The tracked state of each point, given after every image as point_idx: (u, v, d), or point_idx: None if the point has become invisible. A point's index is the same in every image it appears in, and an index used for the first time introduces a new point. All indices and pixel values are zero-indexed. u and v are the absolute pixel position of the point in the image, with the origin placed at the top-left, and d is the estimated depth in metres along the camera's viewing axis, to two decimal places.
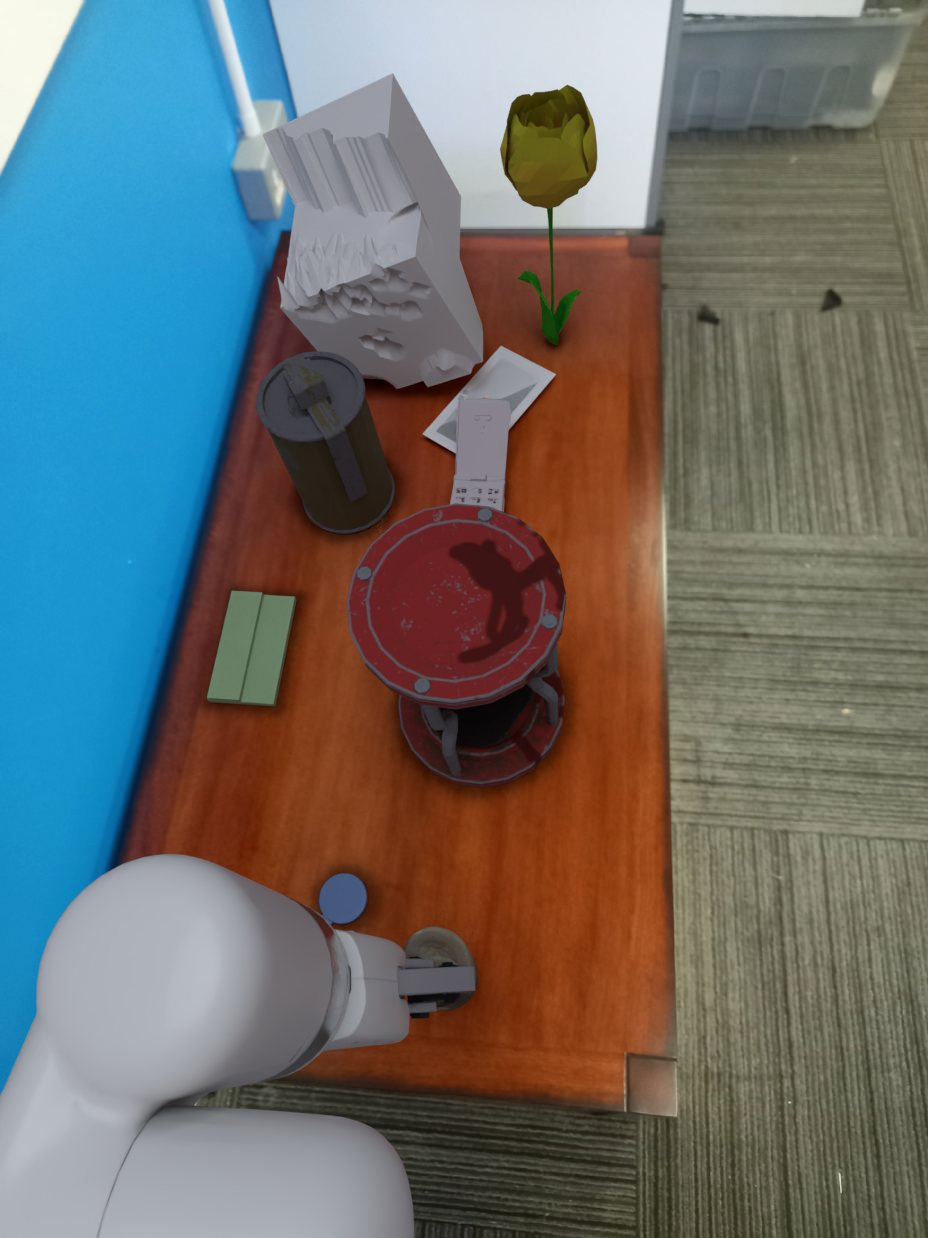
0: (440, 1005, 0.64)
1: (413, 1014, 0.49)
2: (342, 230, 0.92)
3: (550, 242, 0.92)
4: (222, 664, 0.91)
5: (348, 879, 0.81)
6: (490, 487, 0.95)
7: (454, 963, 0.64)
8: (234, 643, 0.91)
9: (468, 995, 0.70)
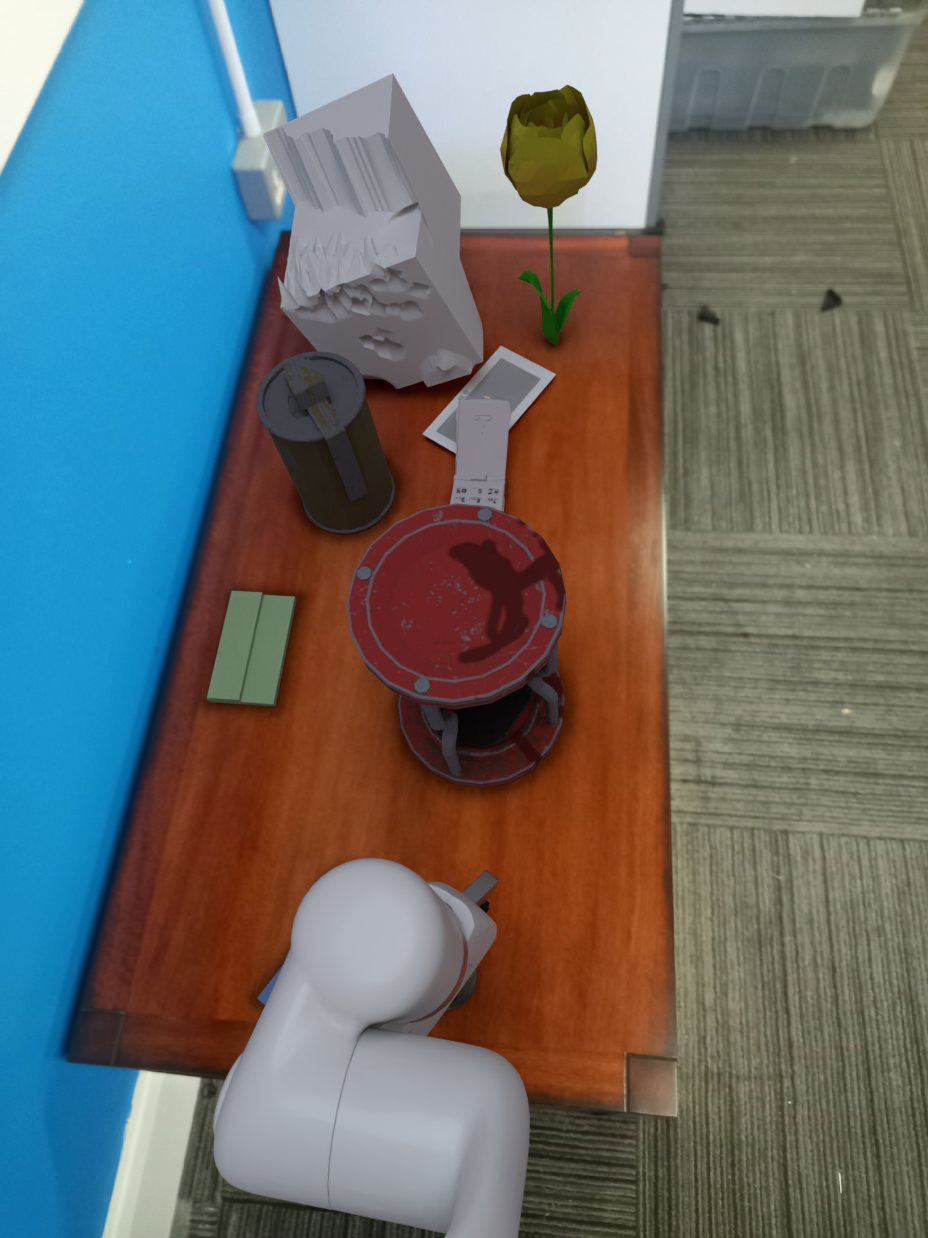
0: None
1: None
2: (342, 230, 0.92)
3: (550, 242, 0.92)
4: (222, 664, 0.91)
5: None
6: (490, 487, 0.95)
7: None
8: (234, 643, 0.91)
9: (468, 995, 0.70)
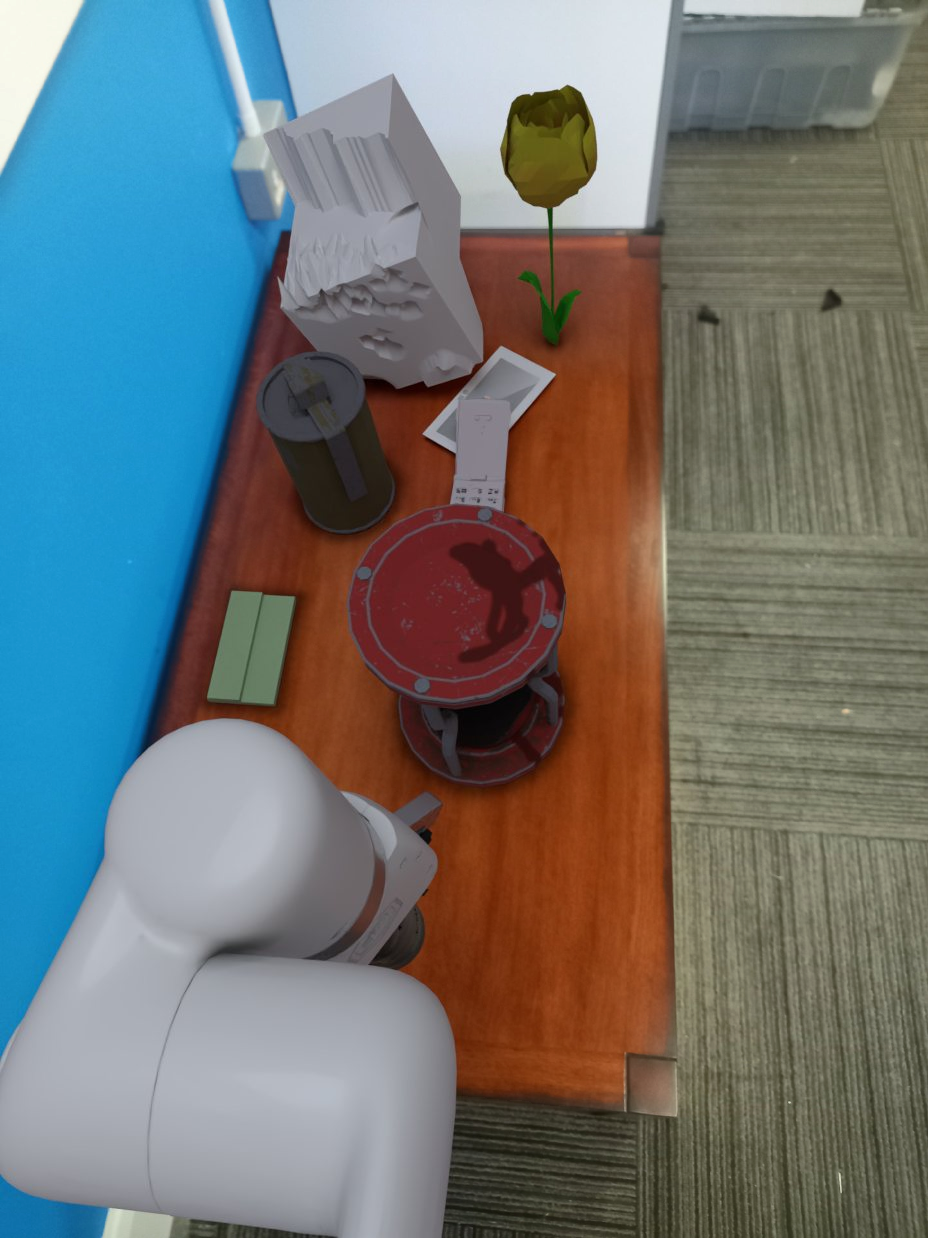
0: None
1: None
2: (342, 230, 0.92)
3: (550, 242, 0.92)
4: (222, 664, 0.91)
5: None
6: (490, 487, 0.95)
7: None
8: (234, 643, 0.91)
9: (410, 952, 0.58)
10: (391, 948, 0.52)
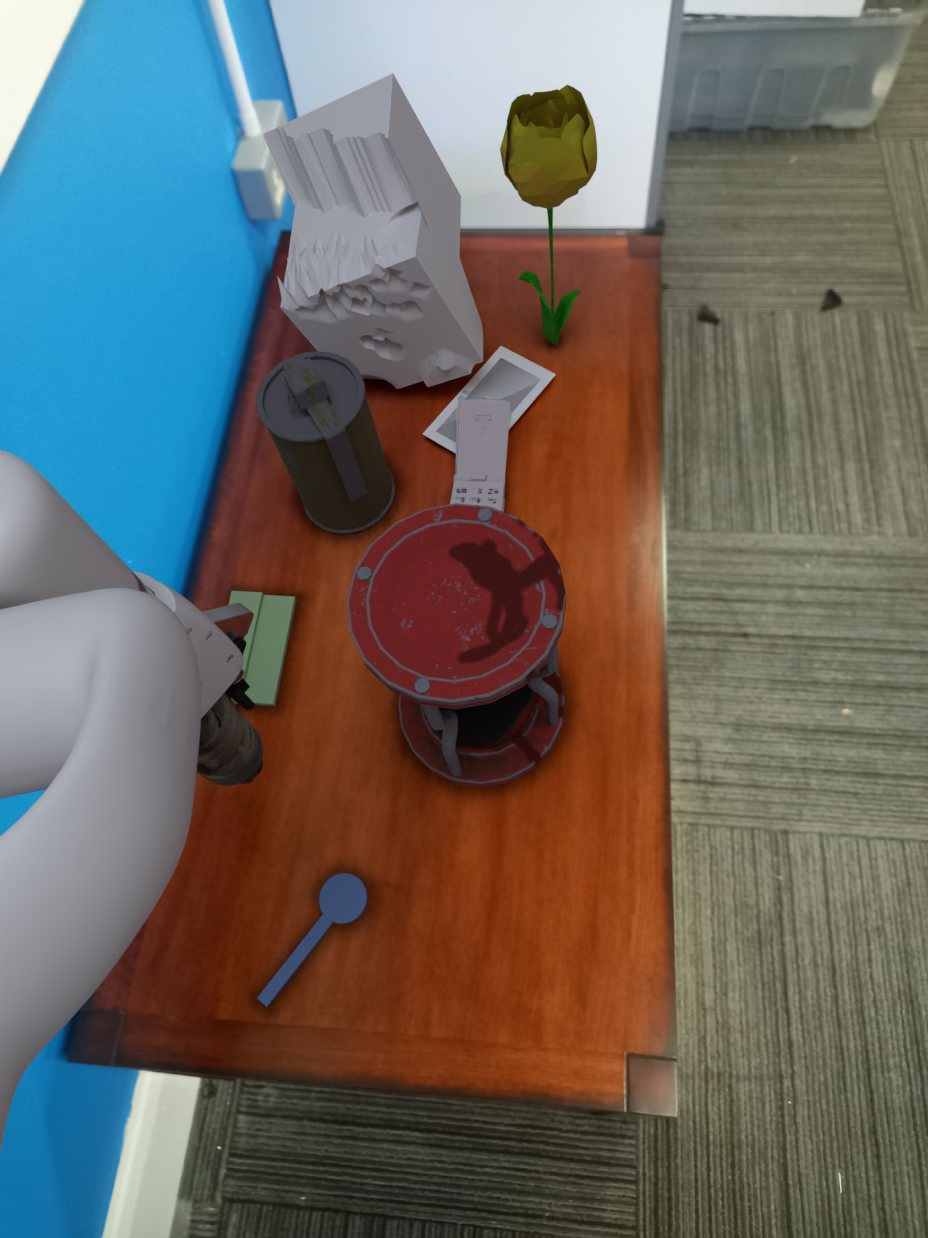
0: None
1: (233, 689, 0.60)
2: (342, 230, 0.92)
3: (550, 242, 0.92)
4: None
5: (348, 879, 0.81)
6: (490, 487, 0.95)
7: None
8: None
9: (243, 763, 0.65)
10: (212, 743, 0.60)
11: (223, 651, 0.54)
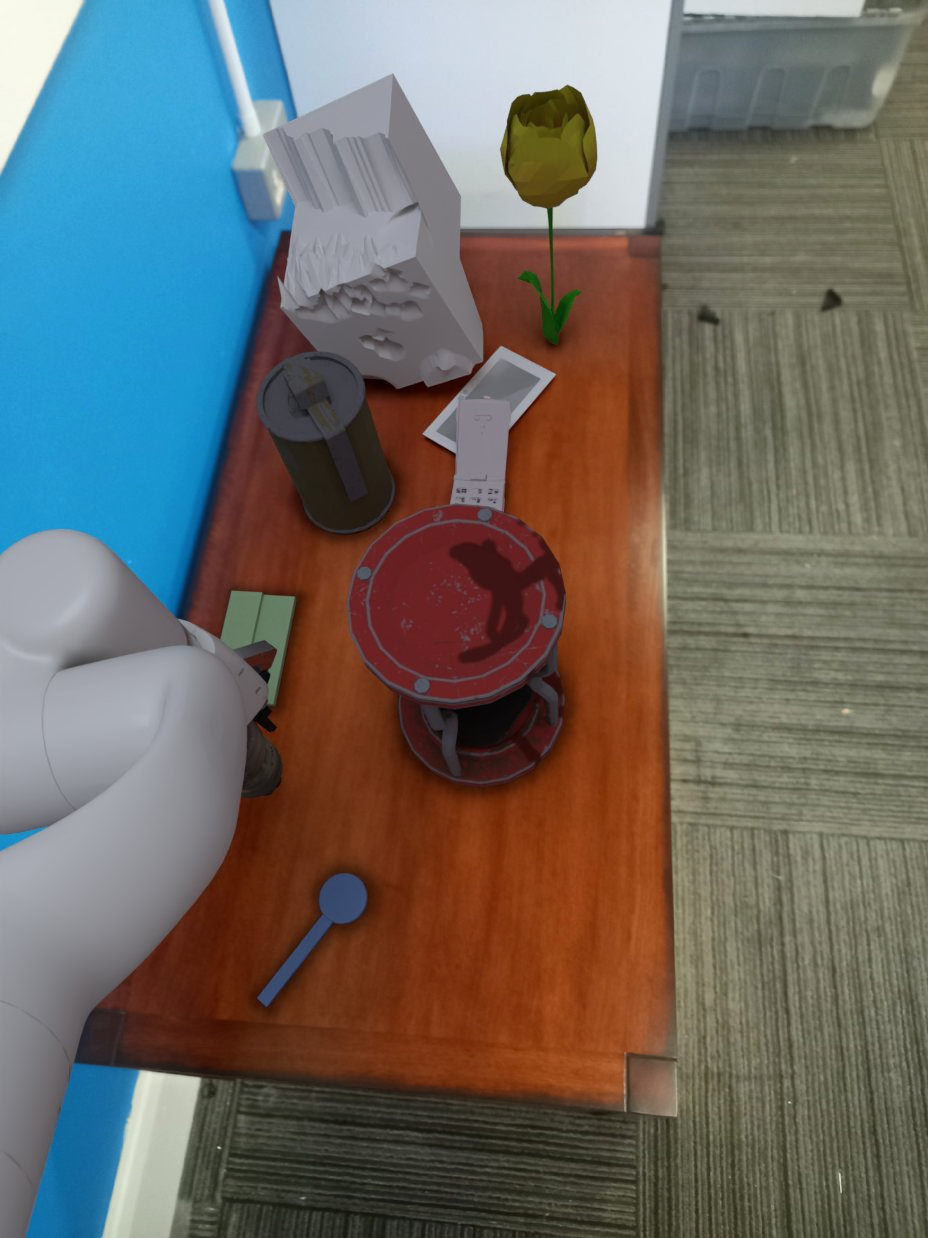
0: None
1: (258, 715, 0.69)
2: (342, 230, 0.92)
3: (550, 242, 0.92)
4: None
5: (348, 879, 0.81)
6: (490, 487, 0.95)
7: None
8: (234, 643, 0.91)
9: (266, 779, 0.74)
10: None
11: (252, 684, 0.63)
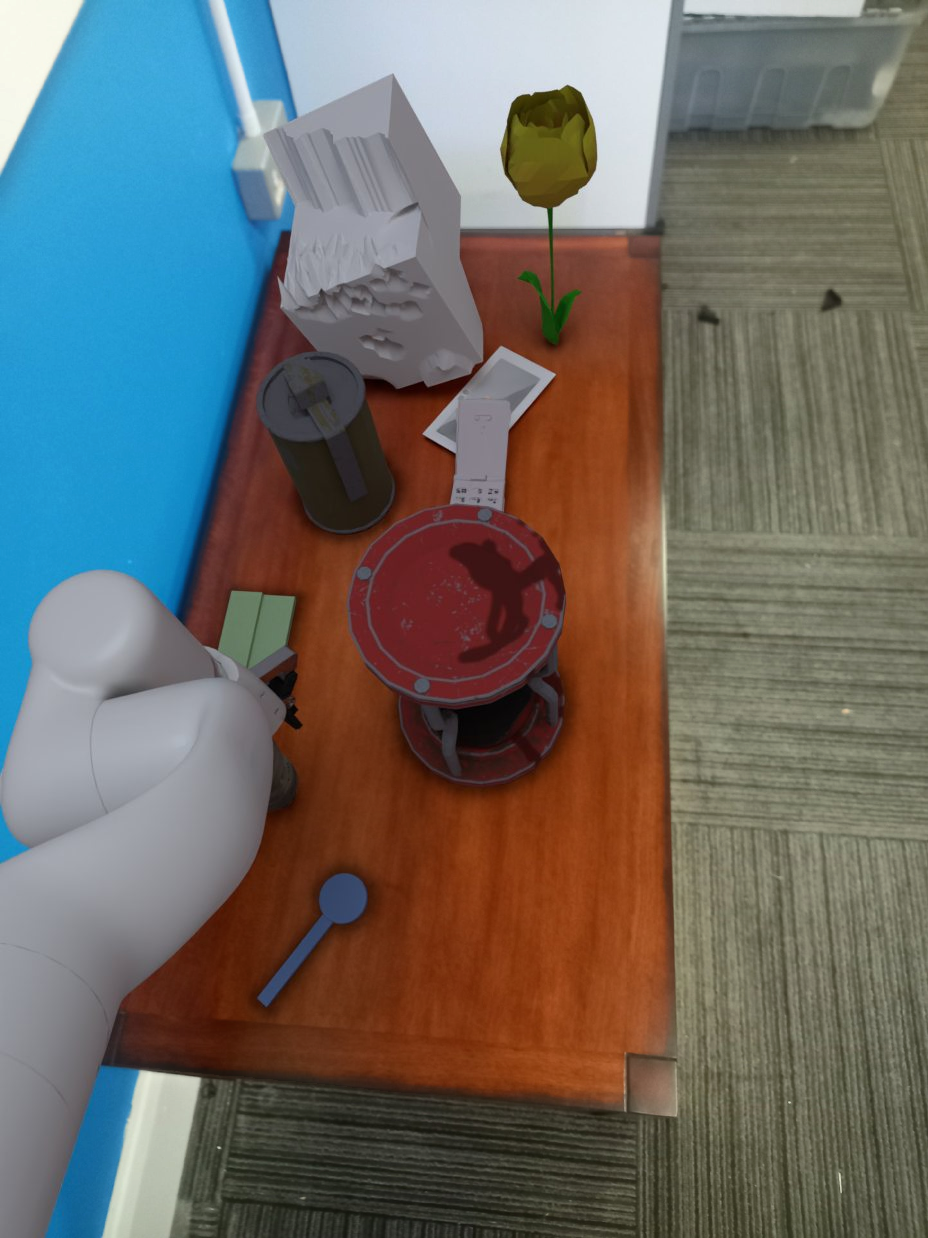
0: None
1: (286, 713, 0.73)
2: (342, 230, 0.92)
3: (550, 242, 0.92)
4: None
5: (348, 879, 0.81)
6: (490, 487, 0.95)
7: None
8: (234, 643, 0.91)
9: (283, 793, 0.78)
10: None
11: (272, 706, 0.67)
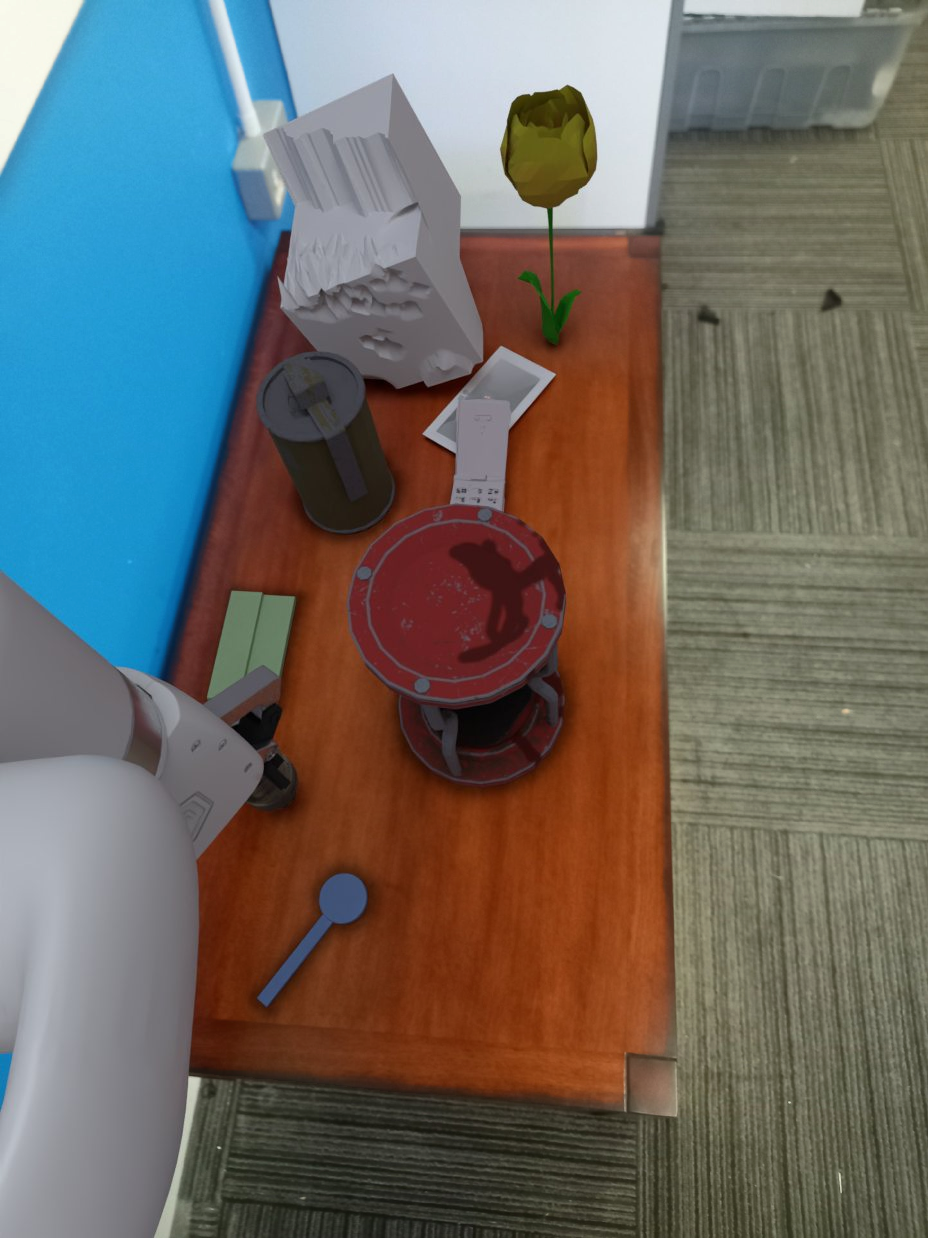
0: None
1: (265, 768, 0.48)
2: (342, 230, 0.92)
3: (550, 242, 0.92)
4: (222, 664, 0.91)
5: (348, 879, 0.81)
6: (490, 487, 0.95)
7: None
8: (234, 643, 0.91)
9: (283, 793, 0.78)
10: None
11: (240, 761, 0.43)
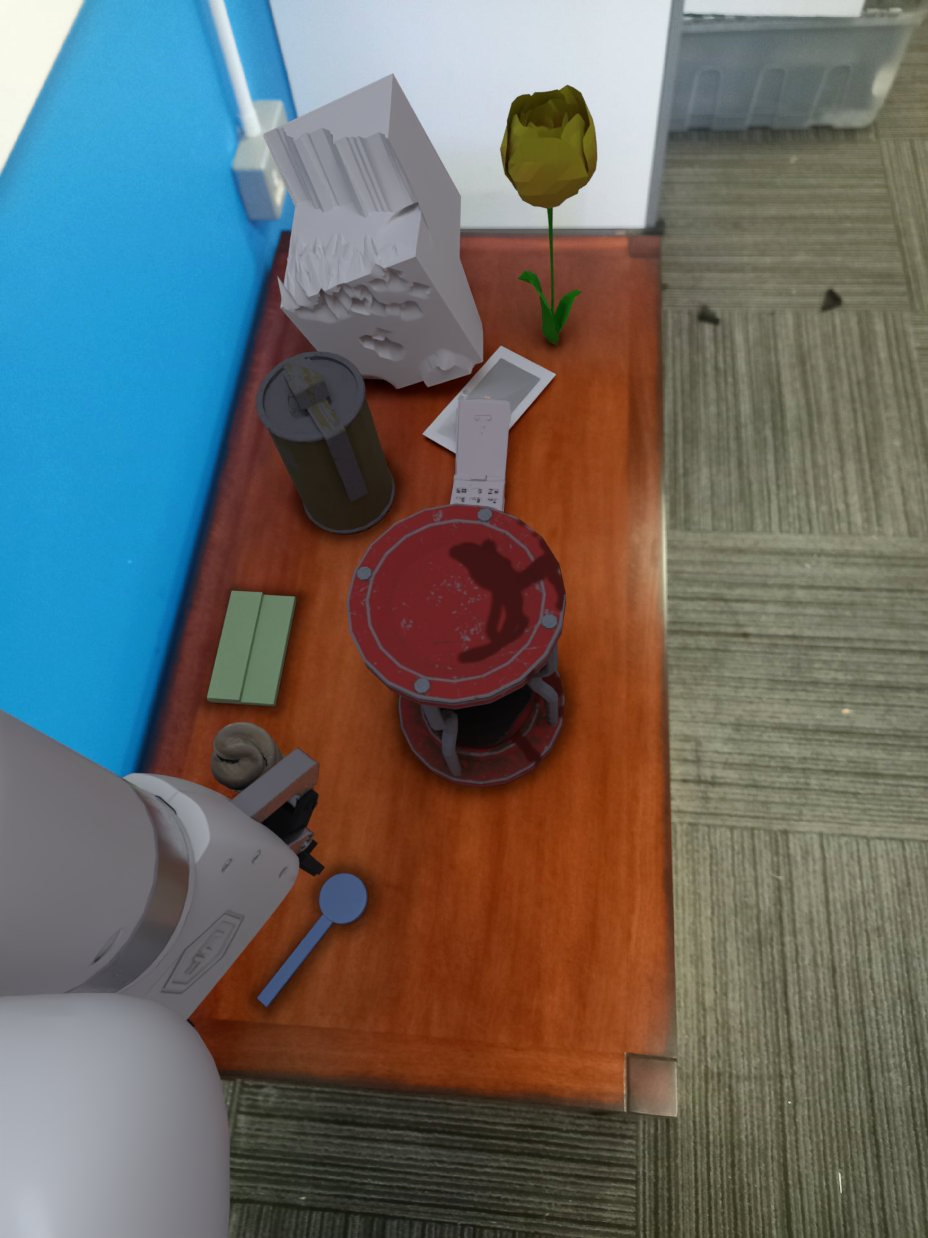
0: (242, 784, 0.72)
1: (298, 859, 0.43)
2: (342, 230, 0.92)
3: (550, 242, 0.92)
4: (222, 664, 0.91)
5: (348, 879, 0.81)
6: (490, 487, 0.95)
7: (256, 749, 0.73)
8: (234, 643, 0.91)
9: None
10: None
11: (274, 868, 0.37)
